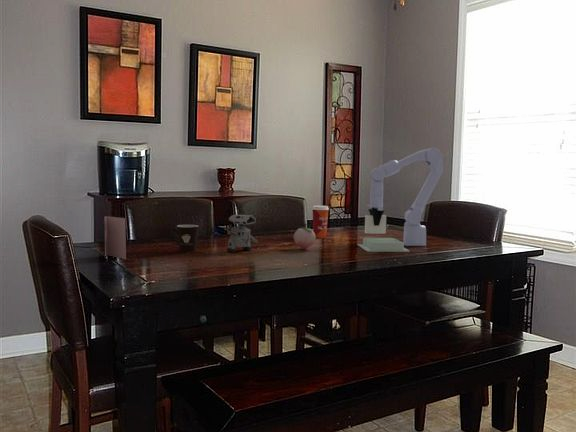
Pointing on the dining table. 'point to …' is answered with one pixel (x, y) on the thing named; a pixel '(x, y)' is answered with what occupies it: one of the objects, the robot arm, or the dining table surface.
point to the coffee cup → (320, 221)
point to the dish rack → (383, 245)
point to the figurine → (240, 232)
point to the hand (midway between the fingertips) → (375, 225)
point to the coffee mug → (186, 237)
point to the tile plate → (375, 229)
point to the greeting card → (115, 237)
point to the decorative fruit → (304, 237)
